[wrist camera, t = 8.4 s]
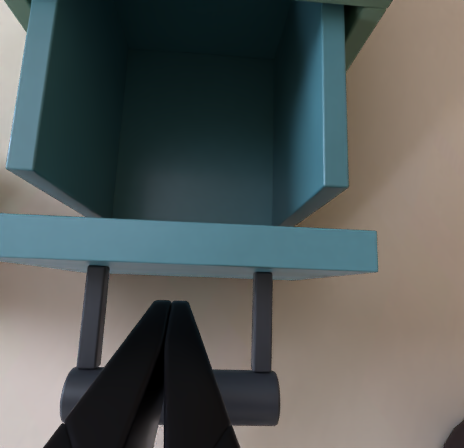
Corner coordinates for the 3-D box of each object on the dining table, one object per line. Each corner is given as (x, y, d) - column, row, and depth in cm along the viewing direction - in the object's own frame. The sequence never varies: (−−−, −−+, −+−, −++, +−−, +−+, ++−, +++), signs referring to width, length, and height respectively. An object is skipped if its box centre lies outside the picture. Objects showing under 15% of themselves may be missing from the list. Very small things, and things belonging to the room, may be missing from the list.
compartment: (294, 372, 19) (386, 459, 9) (73, 367, 18) (-78, 457, 8) (294, 61, 22) (363, -114, 12) (108, 47, 21) (28, -151, 12)
